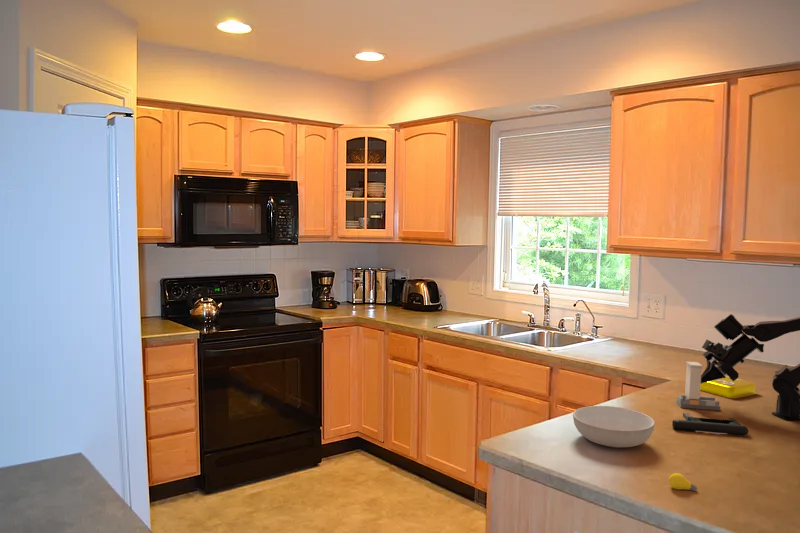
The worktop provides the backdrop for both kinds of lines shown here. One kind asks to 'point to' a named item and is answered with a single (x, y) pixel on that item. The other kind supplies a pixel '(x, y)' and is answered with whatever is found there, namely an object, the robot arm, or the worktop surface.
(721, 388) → the element tile
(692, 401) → the switch base
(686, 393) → the tall lidded box
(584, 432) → the serving bowl
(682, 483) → the light bulb
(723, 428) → the door handle
